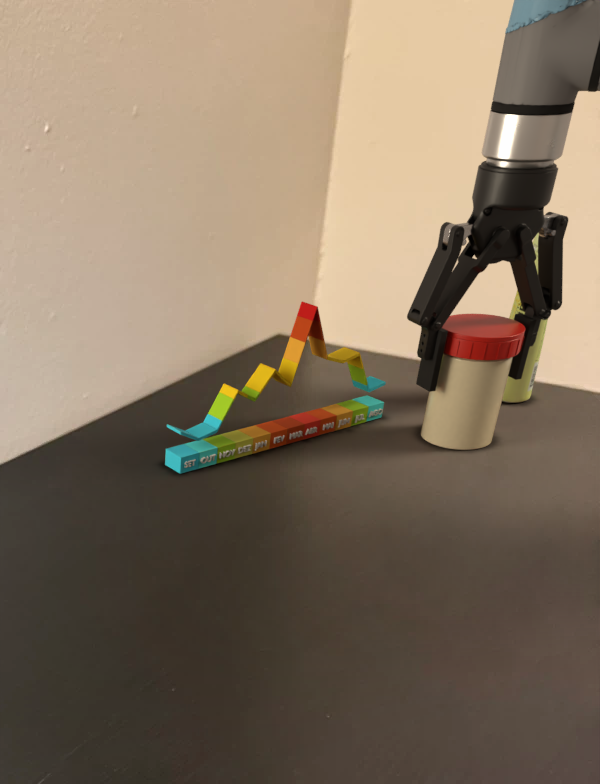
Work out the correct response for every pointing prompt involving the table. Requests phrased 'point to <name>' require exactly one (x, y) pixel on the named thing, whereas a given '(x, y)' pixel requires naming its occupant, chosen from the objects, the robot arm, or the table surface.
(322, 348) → the chart
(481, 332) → the lid
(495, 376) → the jar
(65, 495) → the table surface
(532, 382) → the tube
